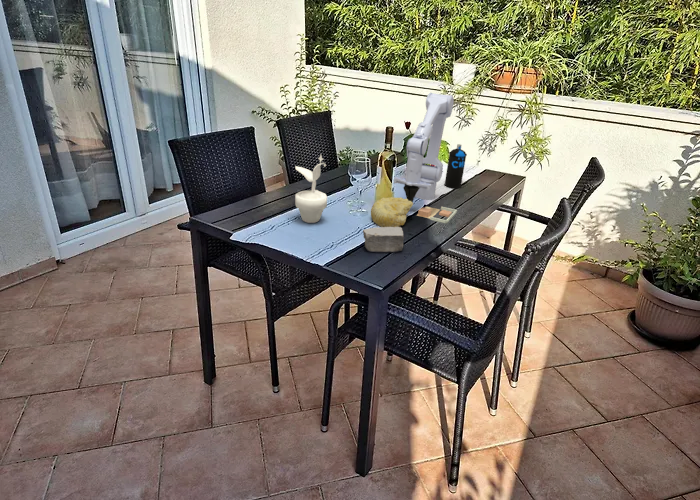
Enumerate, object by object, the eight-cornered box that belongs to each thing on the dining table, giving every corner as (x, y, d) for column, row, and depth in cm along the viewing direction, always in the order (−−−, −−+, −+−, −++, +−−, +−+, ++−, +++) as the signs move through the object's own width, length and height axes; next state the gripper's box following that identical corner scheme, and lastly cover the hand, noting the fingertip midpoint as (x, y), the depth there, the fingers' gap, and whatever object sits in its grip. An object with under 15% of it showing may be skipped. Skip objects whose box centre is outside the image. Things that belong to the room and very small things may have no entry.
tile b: (417, 215, 176) (418, 210, 175) (421, 212, 179) (421, 207, 178) (427, 217, 175) (428, 212, 174) (430, 214, 178) (431, 209, 177)
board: (415, 218, 177) (416, 215, 176) (425, 209, 186) (426, 206, 186) (430, 222, 174) (430, 218, 174) (439, 213, 184) (440, 209, 183)
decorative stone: (410, 251, 151) (394, 238, 158) (413, 233, 148) (396, 221, 155) (373, 260, 144) (357, 246, 152) (375, 240, 141) (359, 227, 148)
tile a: (438, 217, 178) (439, 212, 177) (441, 214, 182) (442, 209, 181) (448, 219, 177) (449, 214, 176) (451, 216, 180) (452, 211, 179)
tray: (429, 223, 173) (430, 217, 172) (440, 212, 185) (441, 206, 184) (445, 227, 171) (446, 220, 170) (456, 215, 182) (457, 210, 181)
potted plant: (332, 219, 171) (335, 153, 160) (314, 228, 162) (316, 160, 151) (304, 211, 177) (305, 147, 166) (286, 220, 168) (286, 153, 157)
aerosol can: (440, 183, 220) (447, 142, 211) (455, 183, 222) (462, 142, 214) (449, 189, 213) (455, 146, 204) (464, 188, 215) (471, 146, 207)
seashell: (363, 226, 174) (383, 233, 160) (362, 198, 171) (382, 202, 158) (401, 221, 180) (422, 227, 167) (400, 193, 178) (422, 198, 165)
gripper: (392, 168, 172) (388, 202, 178) (428, 175, 166) (423, 210, 172) (399, 164, 177) (395, 197, 183) (434, 171, 172) (429, 205, 178)
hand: (409, 203), depth 178 cm, fingers closed
